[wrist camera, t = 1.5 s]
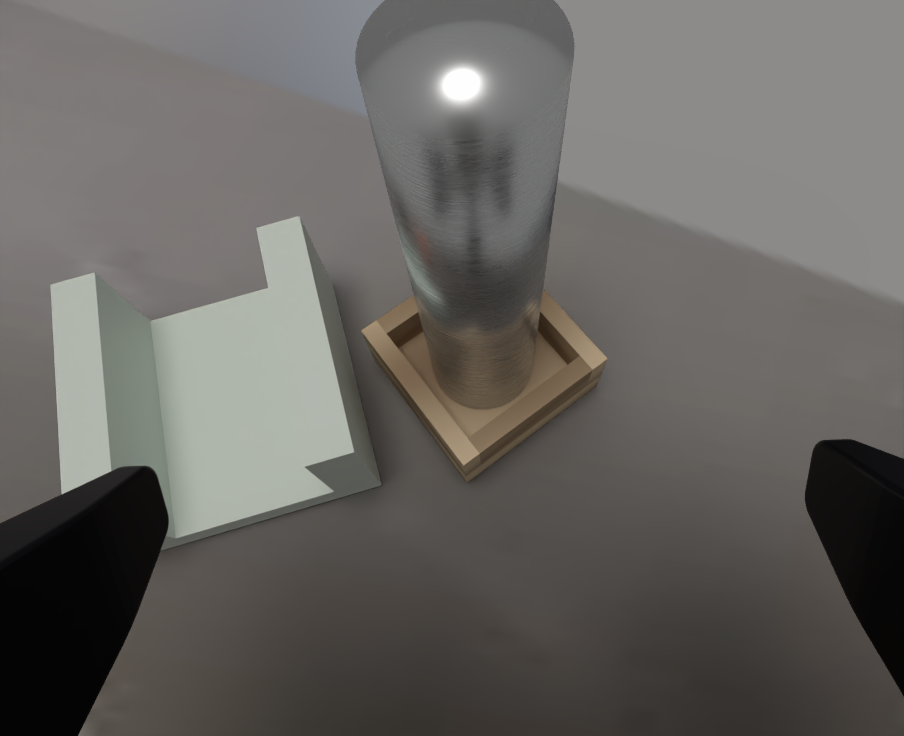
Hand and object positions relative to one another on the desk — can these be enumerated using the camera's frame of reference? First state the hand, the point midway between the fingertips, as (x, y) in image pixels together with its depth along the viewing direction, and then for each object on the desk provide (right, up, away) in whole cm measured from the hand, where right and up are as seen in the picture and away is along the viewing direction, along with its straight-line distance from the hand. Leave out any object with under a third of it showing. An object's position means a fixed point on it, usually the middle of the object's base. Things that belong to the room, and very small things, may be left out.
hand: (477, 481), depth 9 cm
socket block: (+1, +1, +14) cm, 14 cm away
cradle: (-8, 0, +14) cm, 16 cm away
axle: (+1, +2, +13) cm, 13 cm away
